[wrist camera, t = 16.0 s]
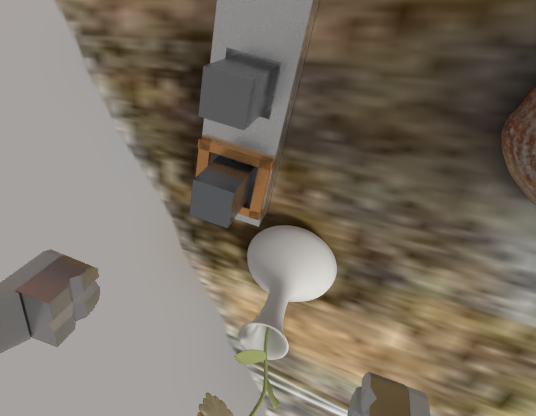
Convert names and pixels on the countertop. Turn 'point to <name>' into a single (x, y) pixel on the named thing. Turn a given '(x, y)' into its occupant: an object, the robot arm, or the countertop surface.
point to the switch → (237, 90)
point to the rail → (289, 73)
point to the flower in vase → (278, 297)
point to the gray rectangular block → (222, 190)
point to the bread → (522, 145)
